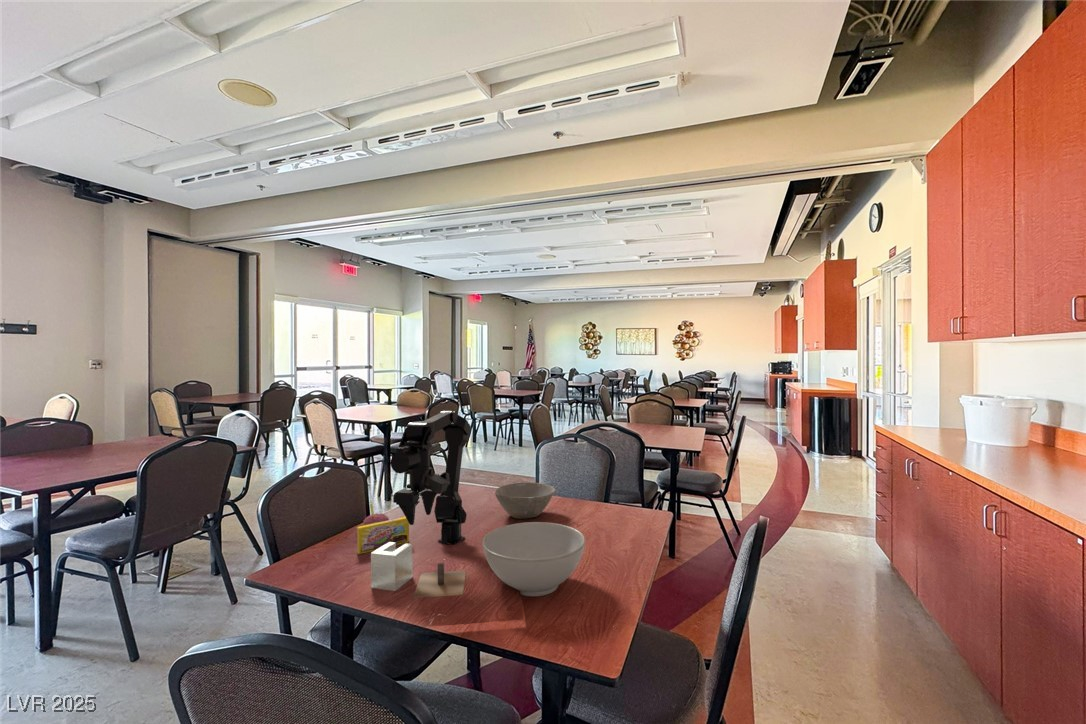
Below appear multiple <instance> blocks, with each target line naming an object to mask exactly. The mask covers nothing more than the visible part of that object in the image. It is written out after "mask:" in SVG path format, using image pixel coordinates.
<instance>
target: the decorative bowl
mask: <svg viewBox="0 0 1086 724" xmlns="http://www.w3.org/2000/svg"><path fill="white" fill-rule="evenodd" d="M481 547H482V550H483V555H484V556H485V558H486V560H487V563H488V565H489V566H490V568H491V570H492V572H493V573H494V574H495V575H496V576H497V578H498V579H499V580H501V581H502V582H503V583H504V584H506V585H507V586H509V587H510V588H513V589H515V590H517V591H519V594H520V595H521V596H525V597H542V596H546V595H550V594H552V593H553V592H555V591H556V590H557V589H558V588H559V585H561V584H562V583H564V582H565V581H566V580H568V578H569V577H571V576H572V575H573V573H574V571H575V569H576V568H577V567H578V566H579V563H580V561H581V559H582V557H583V553H584V551H585V547H586V537H585V536H584V534H583V533H582V532H581V531H579V530H578V529H576V528H574V527H571V526H570V525H569V526H568V525H564V524H561V523H555V522H547V521H546V522H544V521H543V522H542V521H532V522H531V521H529V522H519V523H518V522H517V523H513V524H508V525H503V526H501V527H498V528H495V529H493V530H491V531H489V532H488V533H486V534H485V536H483V539H482V541H481Z"/></svg>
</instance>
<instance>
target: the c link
mask: <svg viewBox="0 0 1086 724" xmlns="http://www.w3.org/2000/svg"><path fill="white" fill-rule="evenodd" d="M396 547H397V545H396V542H388V543H387V544H385V545H383V546H382V547H380V548H378V549H377V550H375V551H371V552H370V575H371V576H370V581H371V583H370V585H371V586H370V587H371V589H377V590H385V591H393V592H396V591H397V590H398V589H400V588H401V587H402V586H403V585H405V584H406V583H407V582H409V581H410V580H412V579H413V544H412V543H408V542H407V543H403V544H401V546H400V547H398V548H396Z"/></svg>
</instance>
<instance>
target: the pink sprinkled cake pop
mask: <svg viewBox="0 0 1086 724" xmlns="http://www.w3.org/2000/svg"><path fill="white" fill-rule="evenodd" d="M369 506H370V507H369V508H370V512H371V515H368V516H366V517H365V518H364V520H363V521H362V526H364V525H369V524H373V523H378V522H383V521H388V520H390V519H389V516H387V515H386V514H384V513H382V512H380V513H374V508H373V507H374V506H373V503H372V502H371V500H370V501H369Z"/></svg>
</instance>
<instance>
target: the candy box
mask: <svg viewBox="0 0 1086 724" xmlns="http://www.w3.org/2000/svg"><path fill="white" fill-rule="evenodd" d="M356 529H357V531H356V532H357V533H356V534H357V535H356V537H357V540H356V542H357V543H356V553H357V554H358V555H363V554H366V553H369V552H370V553H372V552H374V551H375V550H377V549H378V548H380V547H382V546H383V545H385V544H387V543H388V542H396V546H398V545H404V544H405V543H407V544H408V543H410V524H409V522H408V520H407V519H406V517H405V516H403V517H399V518H394V519H389V520H388V521H383V522H378V523H373V524H369V525H364V526H363V525H361V526H357V527H356Z"/></svg>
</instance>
